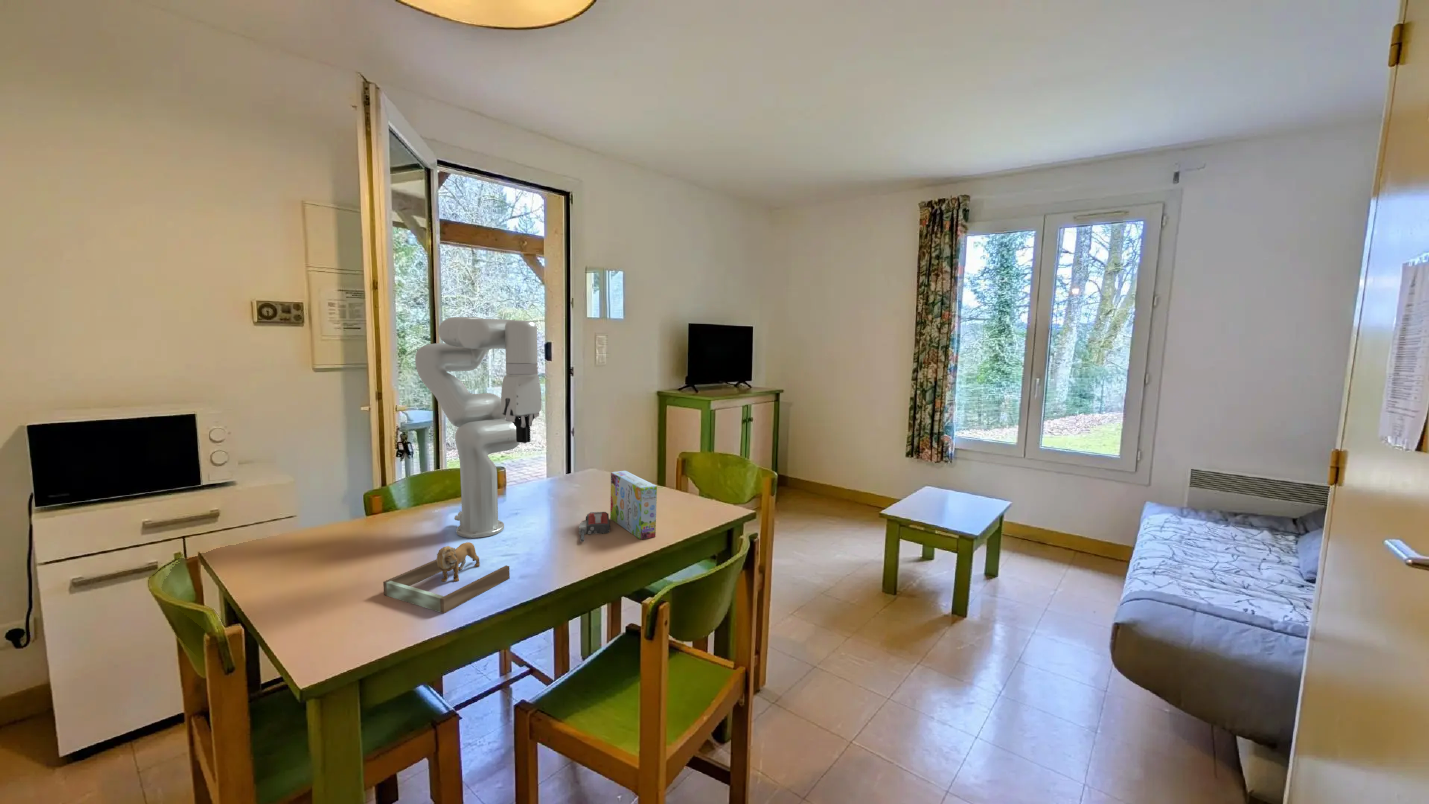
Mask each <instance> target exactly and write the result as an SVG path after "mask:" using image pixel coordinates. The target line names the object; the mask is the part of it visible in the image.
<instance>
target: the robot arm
mask: <svg viewBox="0 0 1429 804" xmlns="http://www.w3.org/2000/svg"><path fill="white" fill-rule="evenodd" d="M438 336H439V338H440V340H441V341H442V342H443V343H441V342H440V343H438V342H437V343H430V344H426V345H425V344H424V345H423V346H421V347H419V348H418V349H417V350H416V353H415V356H414V361H415V368H416V372H417V374H418V376H419V378H420V380H421V382H422V383H423V384H424V386H426V388H427V389H428V390H429V391H430V392H431V393H432V394H433V396H434V397H435V398H436V401H437V402H438V404H439V405H440V407H441V409H442V410H443V413H444V415H445V416H446V418H447V419H448V421H449V422H450V424H451V425H452V426H454V427H456V429H457V430H456V431H455V436H454V439H455V445H456V449H457V454H458V460H459V470H460V471H459V472H460V495H461V497H460V498H461V511H459V512H458V513H457V515H454V518H453V519H454V520H455V521H459V525H458V526H457V527H456V535H458V536H460V537H463V538H468V539H469V538H470V539H472V538H474V539H475V538H477V539H478V538H484V537H485V538H486V537H490V536H493V535H496V534H499V533H501V532H503V530H504V529H505V523H504V522H503V521H501V520H499V505H498V504H499V503H498V502H499V498H498V497H499V496H498V468H497V467H496V465H495V463H494V462H493V461H492V459H490V457H489V455H491V454H495V453H500V452H507V451H511V450H513V449H515V448H517V447H518V446H519V444H520V443H523V444H527V443H530V442H531V427H532V426H533V421H534V419H536V418H538V417H539V416H540V412H541V410H542V405H543V404H542V403H543V402H542V389H541V382H540V377H539V375H538V371H539V370H538V369H539V365H538V326H537V324H536V322H534V321H532V320H521V319H520V320H518V319H503V318H483V317H476V316H453V317H449V318H446V319H444V320H443V321H442V322H441V323H440V324H439V326H438ZM489 350H505V375H503V379H502V384H501V393H500V396H498V395H497V394H494V393H491V392H489V393H488V392H485V393H484V392H483V393H472V392H470V391H469V390H468V389H467V387H466V386H465V384H464V383H463V381H461V379H459V378H458V377H456V376H455V375H452V374H451V373H450V372H468V371H474V370H475V369H477V368H478V367H479V366H480V365H481V363H482V361H483V359H484V357H485V355H486V354H487V352H488V351H489Z"/></svg>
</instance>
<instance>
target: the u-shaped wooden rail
mask: <svg viewBox="0 0 1429 804" xmlns="http://www.w3.org/2000/svg"><path fill="white" fill-rule="evenodd" d="M441 572H442V570H440V568H439V567H438V565H437V558H436V559H433V560H431V561H430V562H427V563H424V564H422V565H419V566H417V567H415V568H413V569H410V570H408V571H406V572H402V573H400V574H399V575H396V576H393V577H392V578H389V579H386V580H384V581H383V596H386V597H390V598H393V599H395V600H400V601H402V602H404V603H410V604H413V605H416V606H419V607H422V608H424V609H425V608H426V609H429V610H432V611H435V612H437V613H442V614H446V613H448V612H450V611H451V610H453V609H455V608H457V607H459V606H460V605H463V604H464V603H466V602H468V601H470V600H472V599H474V598H476V597H477V596H480V595H481V594H483V593H485V592H488V591H489V590H491V589H493V588H494V587H496V586H498V585H501V583H505V582H506V581H508V580H510V572H511V571H510V565H504V566H502V567H500V568H497V569H496V570H493V571H491V572H490V573H488V574H486V575H484V576H482V577H480V578H478V579H476V580H474V581H472V582H469V583H468V584H466V585H464V586H462V587H460V588H458V589H456V590H454V591H452V592H450V593H448V594H446V595H442V594H437V593H434V592H431V591H428V590H424V589H421V588H417V587H413V586H412V585H415V584H417V583H419V582H421V581H423V580H426V579H428V578H430V577H433V576H434V575H437V574H439V573H441Z"/></svg>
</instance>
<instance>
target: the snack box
mask: <svg viewBox="0 0 1429 804" xmlns="http://www.w3.org/2000/svg"><path fill="white" fill-rule="evenodd" d="M657 496H658V486H657V485H656V484H654V483H652V482H650V481H647V480H646V479H643V478H641V477H639V476H637V475H635V474H633V473H631V472H629V471H628V470H619V471H613V472H612V471H611V472H610V506H609V507H610V515H609V520H612V521H613V522H614V523H616V524H618V525H619V526H621V527H622V528H623V529H624V530H626V531H627V532H629V533H630V534H632V535H633V536H634V537H636V538H637V539H638V540H646V539H651V538H656V533H657V532H656V529H657V503H658V502H657V499H658V497H657Z"/></svg>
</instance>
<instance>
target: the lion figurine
mask: <svg viewBox="0 0 1429 804" xmlns="http://www.w3.org/2000/svg"><path fill="white" fill-rule="evenodd" d="M467 556H468V557H469V558H470V559H471V560H472V562H475V564H473V565H474V568H479V567H480V566H481V563H480V557H479V556H478V555H477V552H476V547H475V545H474V544H473V543H472V542H470V541H469V542H468V541H467V542H463V543H461V544H460V545H459V546H458V547H456V548H455V547H452V546H449V545H447V546H446V545H445V546H442V548H440V549H439V550H438V552H437V553H436V559H437V565H438V567H439V568H440V570H442V571H441V572H442V576H443V578H441V582H442V583H445V582H447V581H448V579H449V578H448V576H449V575H448V572H451V571H452V570H453V571H452V572H453V577H452V579H453V580H452V581H453V582H454V583H456V582H459V581H460V577H459V571H461V570H463V568H464V566H465V565H466V557H467ZM459 564H460V566H459Z"/></svg>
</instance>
